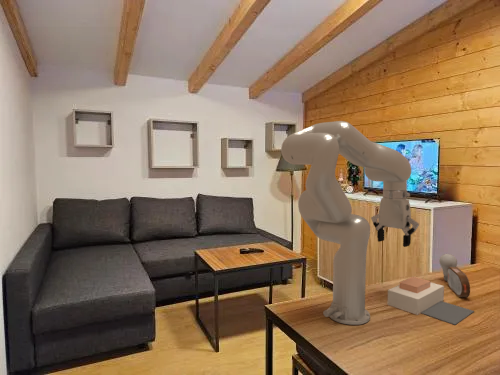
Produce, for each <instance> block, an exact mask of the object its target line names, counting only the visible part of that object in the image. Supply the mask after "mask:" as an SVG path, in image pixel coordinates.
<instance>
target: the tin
mask: <svg viewBox="0 0 500 375" xmlns="http://www.w3.org/2000/svg"><path fill="white" fill-rule="evenodd" d="M447 281H448V282H447ZM447 281H446V282H447V285H448V286H449V289H451V291H453V293H454V294H456V296H457V297H459V298H467V299H468V298H469V297H470V295H471V285H470V280H469V278H468V275H467V274H466V273H465V272H464V271H463V270H462V269H460V268H459V267H458V266H456V267H449V268H448V269H447Z"/></svg>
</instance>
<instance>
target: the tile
mask: <svg viewBox="0 0 500 375" xmlns="http://www.w3.org/2000/svg"><path fill="white" fill-rule="evenodd" d="M430 283H432V282H431V280H427V279H424V278H420V277H417V276H411V277H408V278H407V279H405V280H402V281H399V284H398V285H399V288H401V289H404V290H408V291H411V292H414V293H419V292H421V291H423V290H425V289H427V288H429V287H430Z"/></svg>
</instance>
